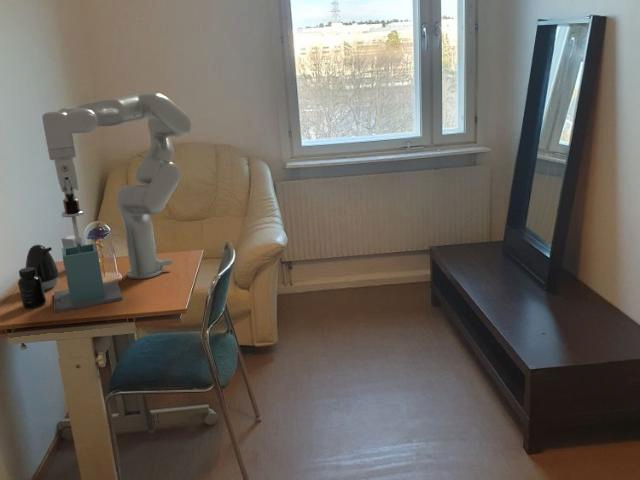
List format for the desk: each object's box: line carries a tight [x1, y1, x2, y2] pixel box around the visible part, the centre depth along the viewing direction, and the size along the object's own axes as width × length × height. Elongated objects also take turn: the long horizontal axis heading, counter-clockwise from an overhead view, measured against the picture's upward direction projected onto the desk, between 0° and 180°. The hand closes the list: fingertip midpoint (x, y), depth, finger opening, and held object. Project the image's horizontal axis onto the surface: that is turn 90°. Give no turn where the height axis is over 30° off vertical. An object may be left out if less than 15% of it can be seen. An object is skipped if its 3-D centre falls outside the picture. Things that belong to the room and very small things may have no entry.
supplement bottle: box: [17, 267, 47, 310], centre depth 203 cm, size 7×7×12 cm
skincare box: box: [61, 235, 84, 248], centre depth 236 cm, size 6×4×12 cm
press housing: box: [53, 242, 123, 314], centre depth 206 cm, size 20×17×16 cm
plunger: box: [61, 197, 85, 254], centre depth 202 cm, size 7×7×22 cm
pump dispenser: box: [25, 244, 60, 291], centre depth 218 cm, size 10×10×15 cm
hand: (72, 211), depth 200 cm, fingers closed on plunger, 4 cm apart
